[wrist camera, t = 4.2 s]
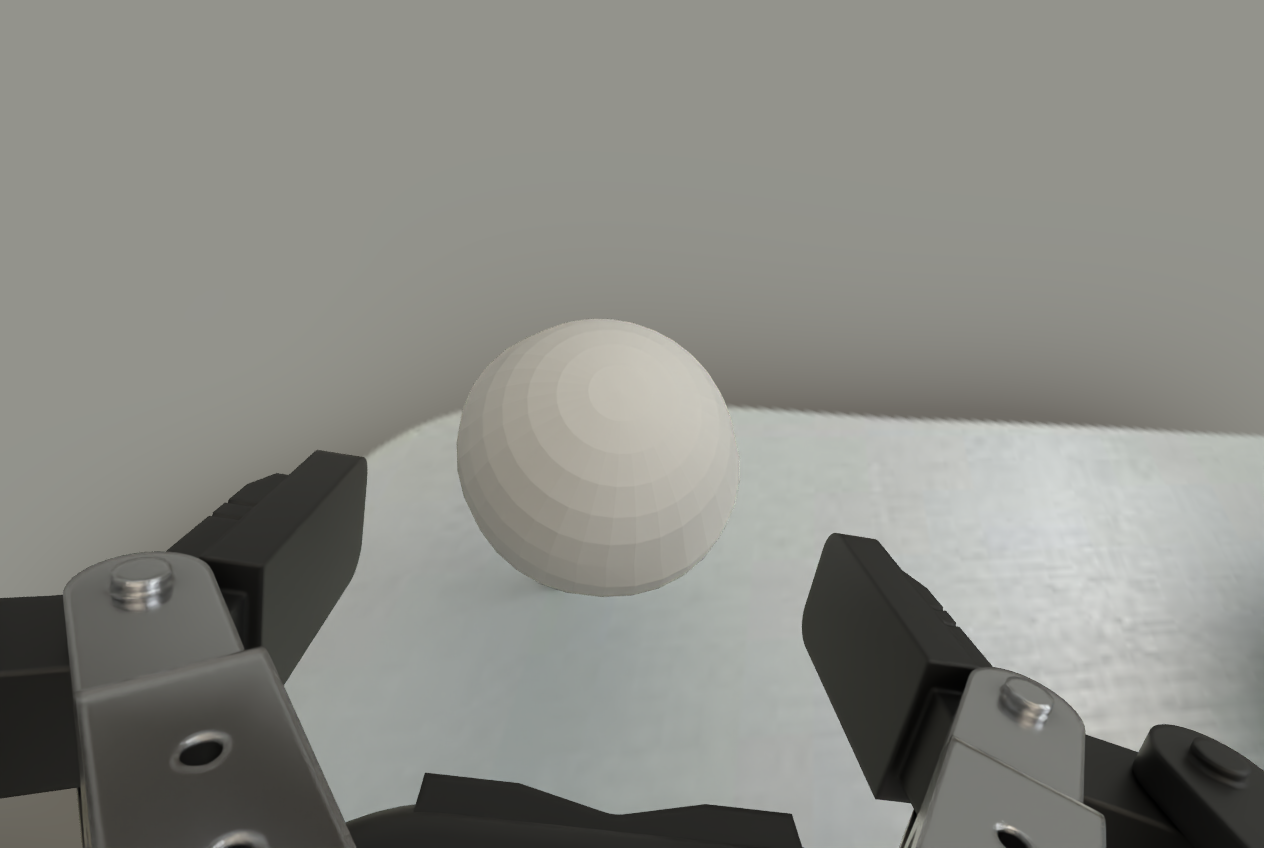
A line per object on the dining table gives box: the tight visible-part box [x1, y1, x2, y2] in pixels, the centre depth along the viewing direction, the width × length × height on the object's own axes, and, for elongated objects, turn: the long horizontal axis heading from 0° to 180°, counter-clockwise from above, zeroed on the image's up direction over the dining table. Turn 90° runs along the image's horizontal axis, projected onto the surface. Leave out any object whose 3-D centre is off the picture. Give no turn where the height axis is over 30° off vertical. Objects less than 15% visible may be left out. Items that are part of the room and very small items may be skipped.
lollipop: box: [457, 319, 740, 597], centre depth 19 cm, size 6×6×15 cm
